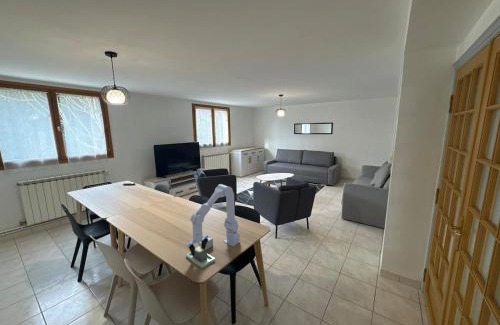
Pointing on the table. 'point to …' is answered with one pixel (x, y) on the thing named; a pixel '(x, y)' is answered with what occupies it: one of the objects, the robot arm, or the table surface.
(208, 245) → the bay
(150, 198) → the table surface
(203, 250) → the grey block yellow label
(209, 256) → the tray
